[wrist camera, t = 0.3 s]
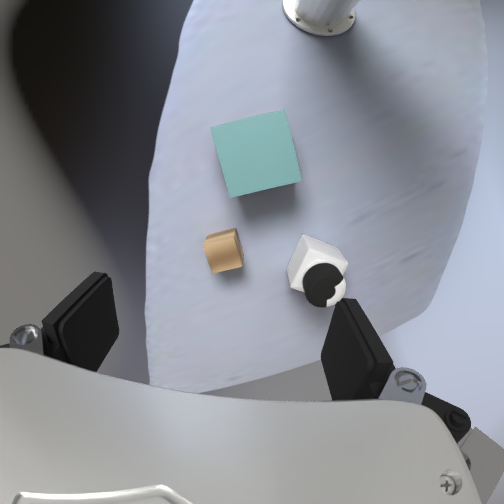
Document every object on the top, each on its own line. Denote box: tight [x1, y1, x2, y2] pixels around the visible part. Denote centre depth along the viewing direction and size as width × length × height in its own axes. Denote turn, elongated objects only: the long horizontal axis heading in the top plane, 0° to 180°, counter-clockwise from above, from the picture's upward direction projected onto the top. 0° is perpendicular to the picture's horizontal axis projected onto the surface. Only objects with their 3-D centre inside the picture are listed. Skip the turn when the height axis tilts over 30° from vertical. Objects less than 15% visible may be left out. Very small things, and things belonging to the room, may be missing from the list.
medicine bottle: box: [287, 234, 348, 307], centre depth 43 cm, size 7×7×12 cm
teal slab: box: [211, 110, 302, 198], centre depth 37 cm, size 10×10×4 cm
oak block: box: [203, 228, 244, 273], centre depth 45 cm, size 5×5×5 cm
